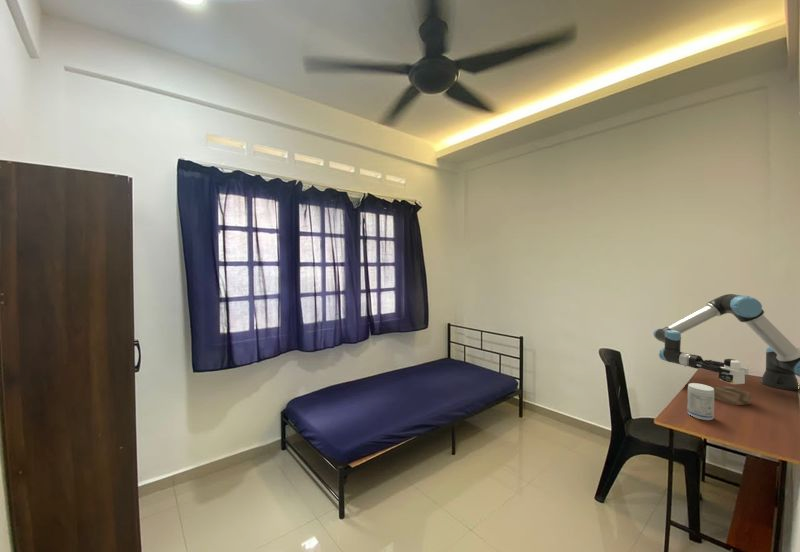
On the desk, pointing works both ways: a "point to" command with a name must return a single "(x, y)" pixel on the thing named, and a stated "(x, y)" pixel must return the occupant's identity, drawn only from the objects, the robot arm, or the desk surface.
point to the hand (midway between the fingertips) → (743, 372)
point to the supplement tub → (700, 401)
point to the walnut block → (731, 395)
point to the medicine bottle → (731, 378)
